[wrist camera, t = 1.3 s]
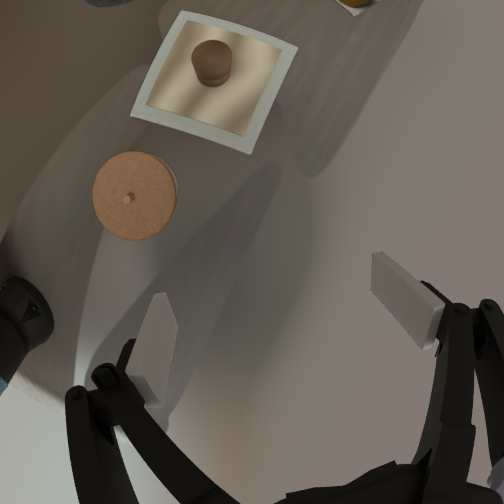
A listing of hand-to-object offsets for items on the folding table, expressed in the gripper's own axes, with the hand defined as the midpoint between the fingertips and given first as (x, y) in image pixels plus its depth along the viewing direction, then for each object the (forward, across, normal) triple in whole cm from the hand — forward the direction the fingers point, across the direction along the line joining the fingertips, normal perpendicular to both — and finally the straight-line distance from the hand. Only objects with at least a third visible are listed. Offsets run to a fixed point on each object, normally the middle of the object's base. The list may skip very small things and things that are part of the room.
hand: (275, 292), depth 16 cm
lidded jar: (+24, -13, +6) cm, 28 cm away
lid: (+23, -1, +20) cm, 30 cm away
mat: (+24, -1, +20) cm, 31 cm away
